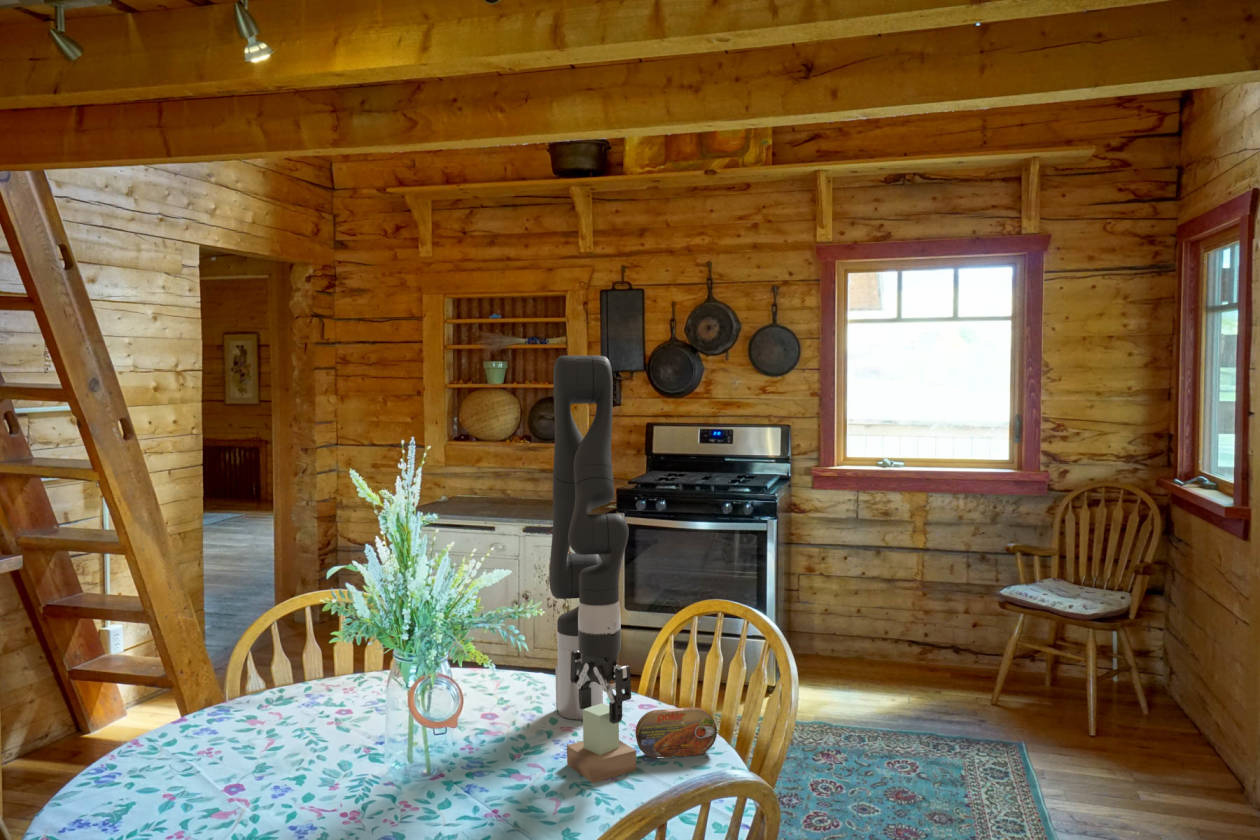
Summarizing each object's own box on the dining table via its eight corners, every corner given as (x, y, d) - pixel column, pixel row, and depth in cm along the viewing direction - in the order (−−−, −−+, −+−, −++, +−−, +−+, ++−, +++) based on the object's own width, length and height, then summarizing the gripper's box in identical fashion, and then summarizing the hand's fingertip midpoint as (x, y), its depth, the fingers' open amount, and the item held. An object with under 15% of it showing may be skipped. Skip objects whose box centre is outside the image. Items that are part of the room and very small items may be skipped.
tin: (637, 760, 173) (636, 715, 172) (634, 753, 176) (633, 708, 175) (717, 754, 175) (717, 709, 174) (713, 747, 178) (713, 703, 177)
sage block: (583, 747, 169) (582, 709, 169) (602, 740, 172) (601, 703, 172) (600, 755, 166) (599, 715, 166) (619, 747, 169) (618, 709, 169)
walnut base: (567, 766, 171) (566, 745, 171) (609, 755, 176) (609, 734, 175) (592, 785, 163) (592, 762, 163) (636, 772, 168) (636, 750, 168)
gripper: (558, 621, 171) (559, 709, 172) (608, 639, 160) (609, 732, 161) (591, 614, 176) (591, 699, 177) (641, 630, 165) (642, 721, 166)
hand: (600, 715), depth 169 cm, fingers open, 8 cm apart
